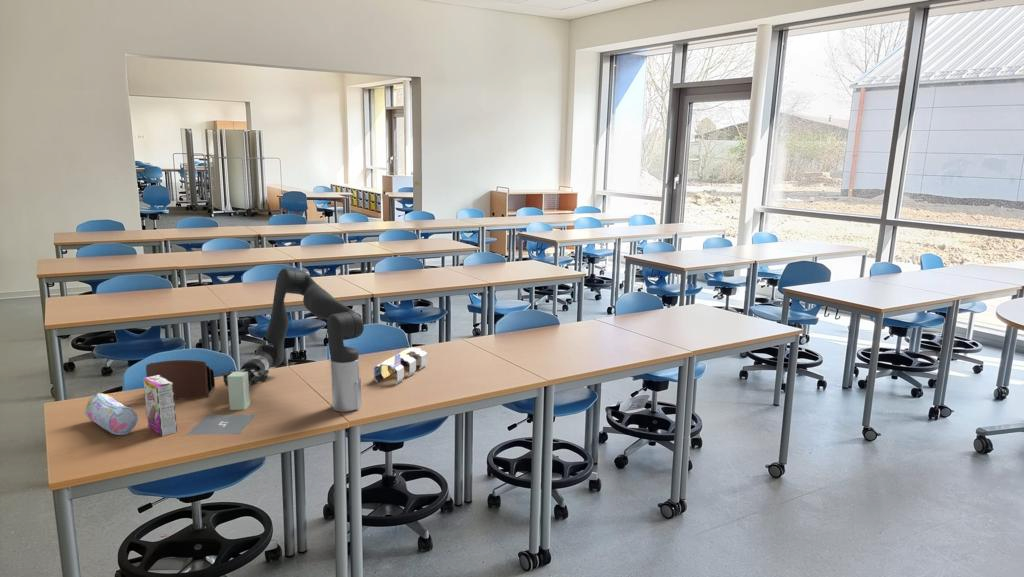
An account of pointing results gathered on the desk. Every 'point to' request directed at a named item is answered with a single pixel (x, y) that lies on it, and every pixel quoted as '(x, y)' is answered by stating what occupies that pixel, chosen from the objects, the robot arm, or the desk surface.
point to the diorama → (401, 364)
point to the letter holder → (185, 377)
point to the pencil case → (111, 414)
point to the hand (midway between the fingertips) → (239, 383)
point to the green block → (238, 390)
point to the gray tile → (222, 424)
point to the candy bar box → (160, 405)
